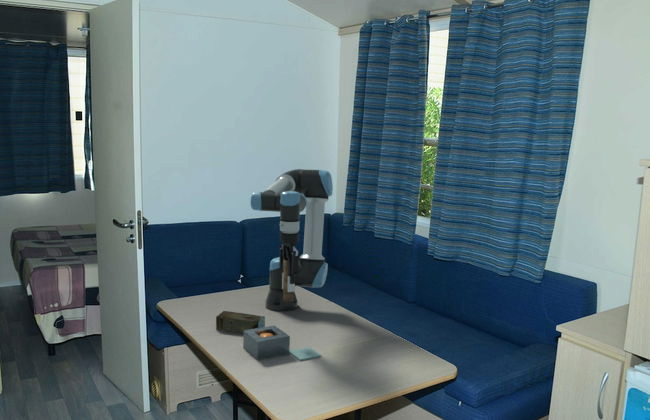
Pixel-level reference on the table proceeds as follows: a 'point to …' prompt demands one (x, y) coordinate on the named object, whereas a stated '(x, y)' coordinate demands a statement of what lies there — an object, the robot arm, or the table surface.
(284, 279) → the brown rounded rod
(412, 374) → the table surface
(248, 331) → the box
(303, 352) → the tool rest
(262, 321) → the beverage carton
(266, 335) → the button
